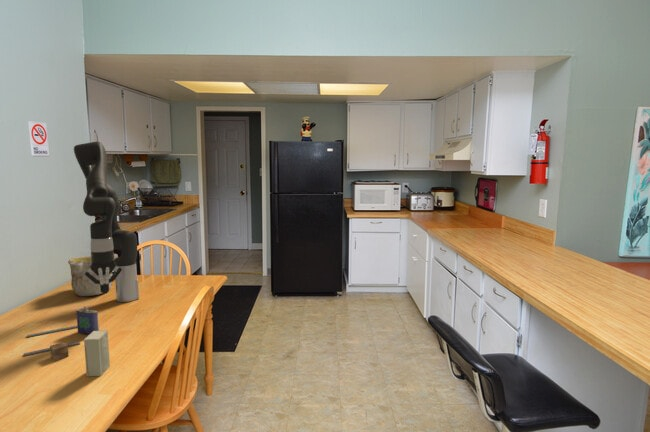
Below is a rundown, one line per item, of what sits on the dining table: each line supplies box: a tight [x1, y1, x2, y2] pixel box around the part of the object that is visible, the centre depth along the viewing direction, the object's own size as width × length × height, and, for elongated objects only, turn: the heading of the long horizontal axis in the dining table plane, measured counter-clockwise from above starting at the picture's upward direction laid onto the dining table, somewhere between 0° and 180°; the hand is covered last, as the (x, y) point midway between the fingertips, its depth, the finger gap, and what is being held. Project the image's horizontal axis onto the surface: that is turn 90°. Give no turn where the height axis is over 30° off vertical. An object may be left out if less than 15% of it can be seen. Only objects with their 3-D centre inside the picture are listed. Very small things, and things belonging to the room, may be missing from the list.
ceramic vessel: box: [67, 252, 119, 297], centre depth 193 cm, size 23×24×25 cm
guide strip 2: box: [23, 341, 81, 357], centre depth 134 cm, size 16×2×1 cm, turn 125°
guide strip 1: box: [26, 324, 78, 338], centre depth 148 cm, size 16×2×1 cm, turn 125°
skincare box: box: [83, 330, 111, 377], centre depth 119 cm, size 6×4×12 cm
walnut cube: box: [49, 341, 70, 362], centre depth 129 cm, size 4×4×4 cm
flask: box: [75, 305, 100, 336], centre depth 146 cm, size 9×3×11 cm, turn 74°
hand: (104, 293), depth 149 cm, fingers closed
